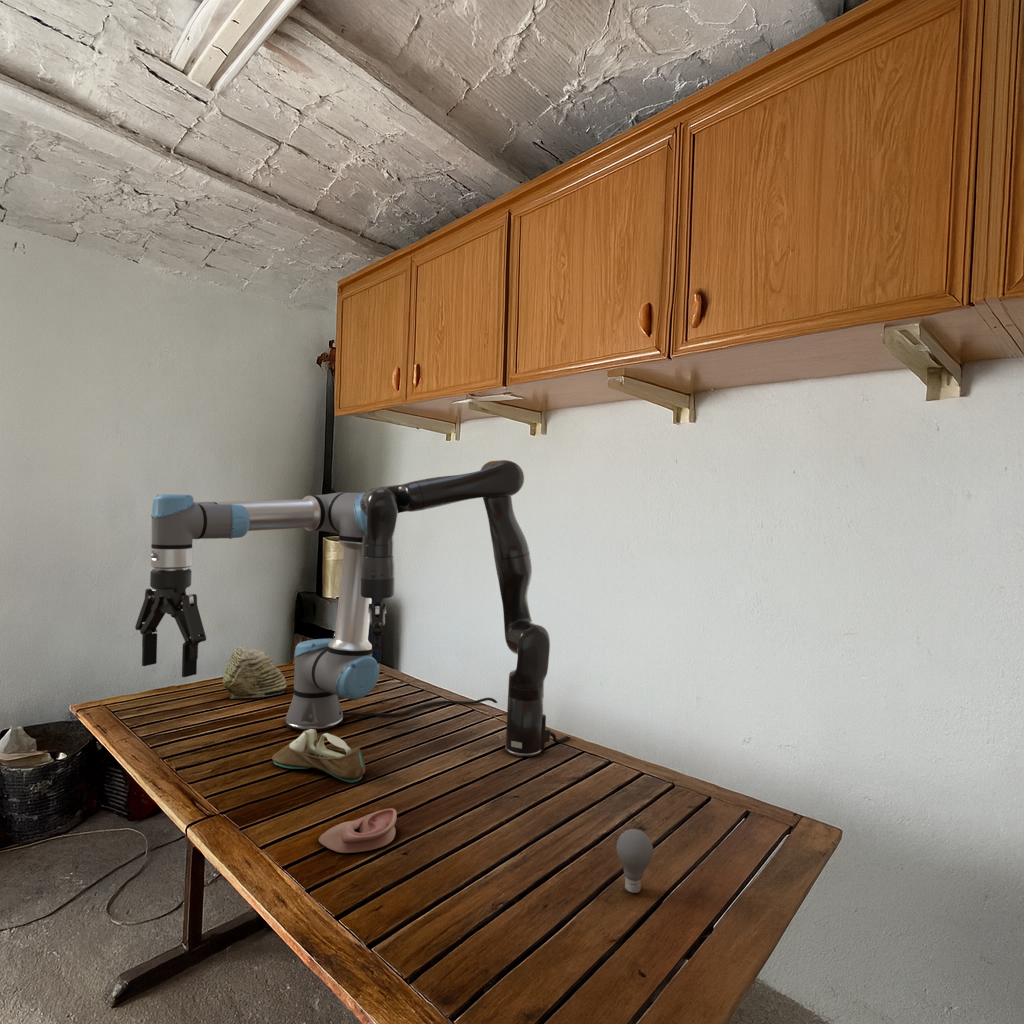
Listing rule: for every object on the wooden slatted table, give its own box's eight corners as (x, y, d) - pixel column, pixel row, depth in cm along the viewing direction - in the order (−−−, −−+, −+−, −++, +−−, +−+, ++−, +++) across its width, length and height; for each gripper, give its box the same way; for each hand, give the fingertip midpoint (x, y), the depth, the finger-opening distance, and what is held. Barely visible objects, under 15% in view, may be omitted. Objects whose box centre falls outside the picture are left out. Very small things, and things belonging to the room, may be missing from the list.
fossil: (218, 695, 195) (220, 647, 195) (278, 685, 208) (279, 640, 207) (228, 703, 189) (230, 653, 188) (289, 692, 201) (290, 645, 201)
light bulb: (610, 879, 108) (613, 822, 108) (644, 879, 109) (647, 822, 109) (619, 902, 102) (622, 840, 102) (655, 901, 103) (658, 840, 103)
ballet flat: (290, 753, 155) (291, 717, 155) (372, 775, 145) (374, 736, 145) (264, 766, 147) (266, 728, 147) (349, 789, 138) (351, 749, 138)
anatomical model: (310, 826, 114) (340, 797, 125) (309, 848, 114) (339, 817, 125) (379, 837, 111) (403, 806, 122) (378, 859, 111) (403, 827, 123)
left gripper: (118, 564, 134) (115, 664, 135) (192, 575, 122) (189, 685, 122) (153, 562, 141) (150, 656, 141) (226, 572, 129) (223, 676, 129)
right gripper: (395, 579, 138) (394, 653, 139) (393, 571, 152) (392, 638, 152) (360, 580, 136) (358, 654, 137) (361, 571, 150) (360, 639, 151)
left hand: (168, 670), depth 132 cm, fingers open, 13 cm apart
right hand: (376, 646), depth 145 cm, fingers open, 8 cm apart
